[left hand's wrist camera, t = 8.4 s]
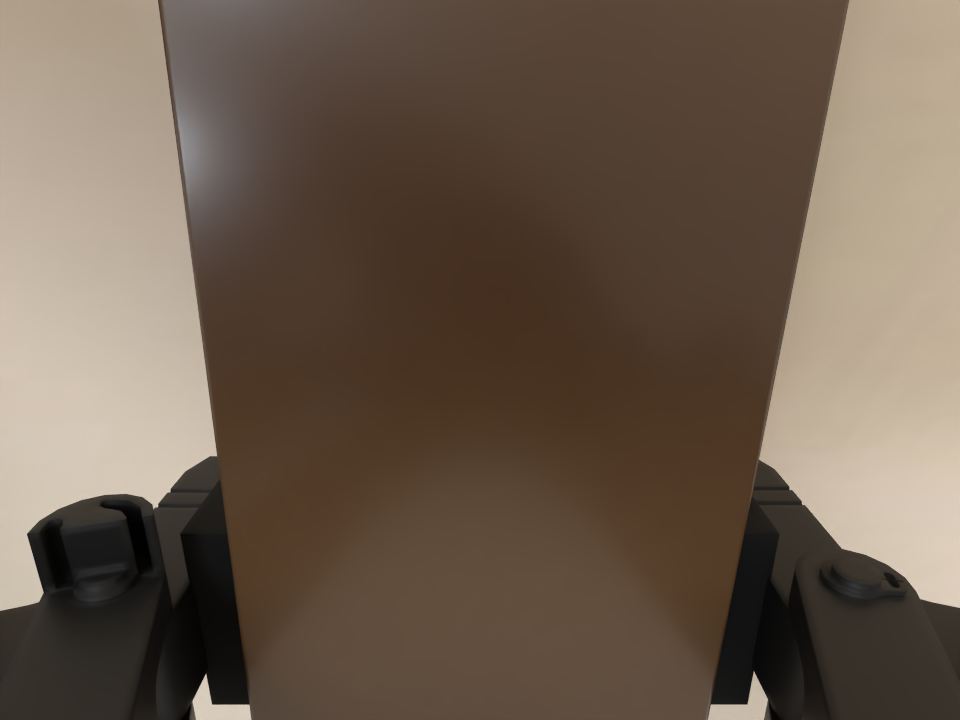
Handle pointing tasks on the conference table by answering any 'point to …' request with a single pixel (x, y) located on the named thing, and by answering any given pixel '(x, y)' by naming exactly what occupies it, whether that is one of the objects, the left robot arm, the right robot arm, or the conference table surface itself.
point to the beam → (492, 335)
